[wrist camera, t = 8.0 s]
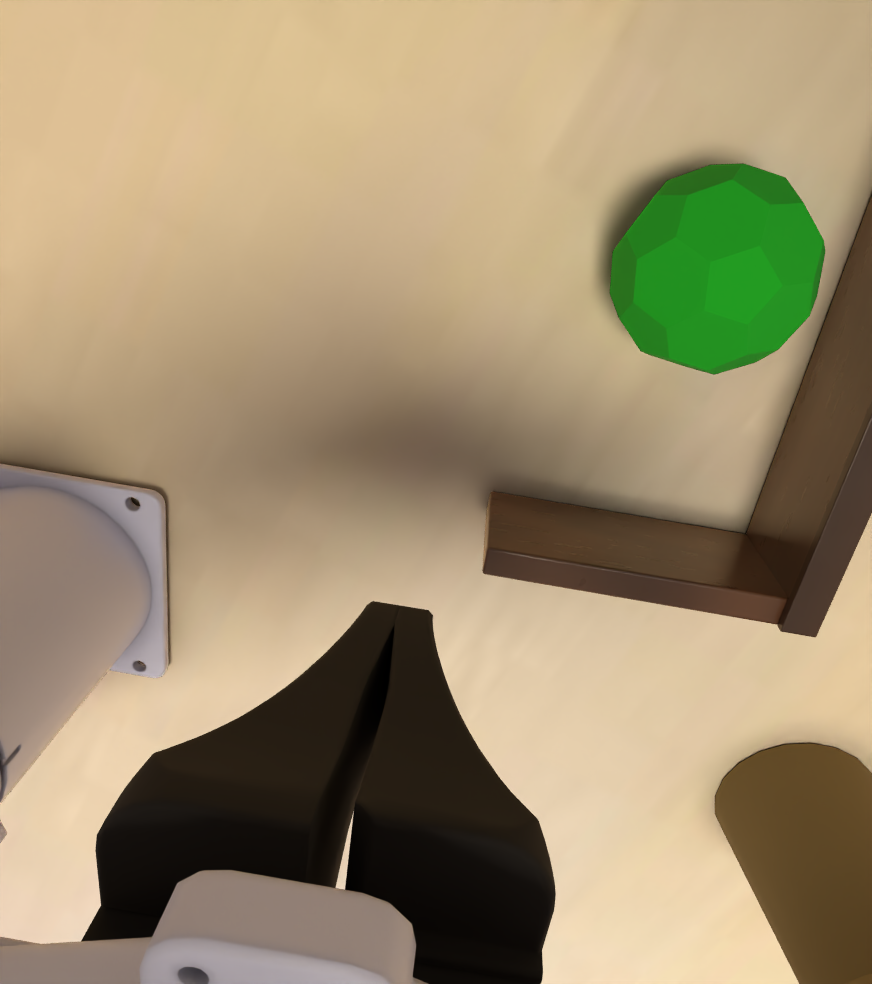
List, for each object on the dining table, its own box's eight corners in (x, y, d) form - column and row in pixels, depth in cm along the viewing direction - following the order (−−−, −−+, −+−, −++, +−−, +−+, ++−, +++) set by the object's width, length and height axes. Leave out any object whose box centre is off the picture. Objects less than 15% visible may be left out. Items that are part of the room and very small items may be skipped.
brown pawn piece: (799, 717, 26) (984, 1055, 16) (912, 798, 27) (1150, 1163, 17) (681, 806, 28) (777, 1151, 18) (789, 878, 29) (935, 1241, 19)
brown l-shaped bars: (485, 513, 24) (481, 580, 20) (616, -164, 16) (650, -270, 12) (765, 561, 24) (816, 638, 20) (1025, -104, 16) (1191, -195, 12)
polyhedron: (623, 370, 21) (652, 420, 17) (581, 206, 20) (601, 213, 15) (795, 317, 20) (873, 355, 16) (767, 138, 19) (846, 126, 14)
